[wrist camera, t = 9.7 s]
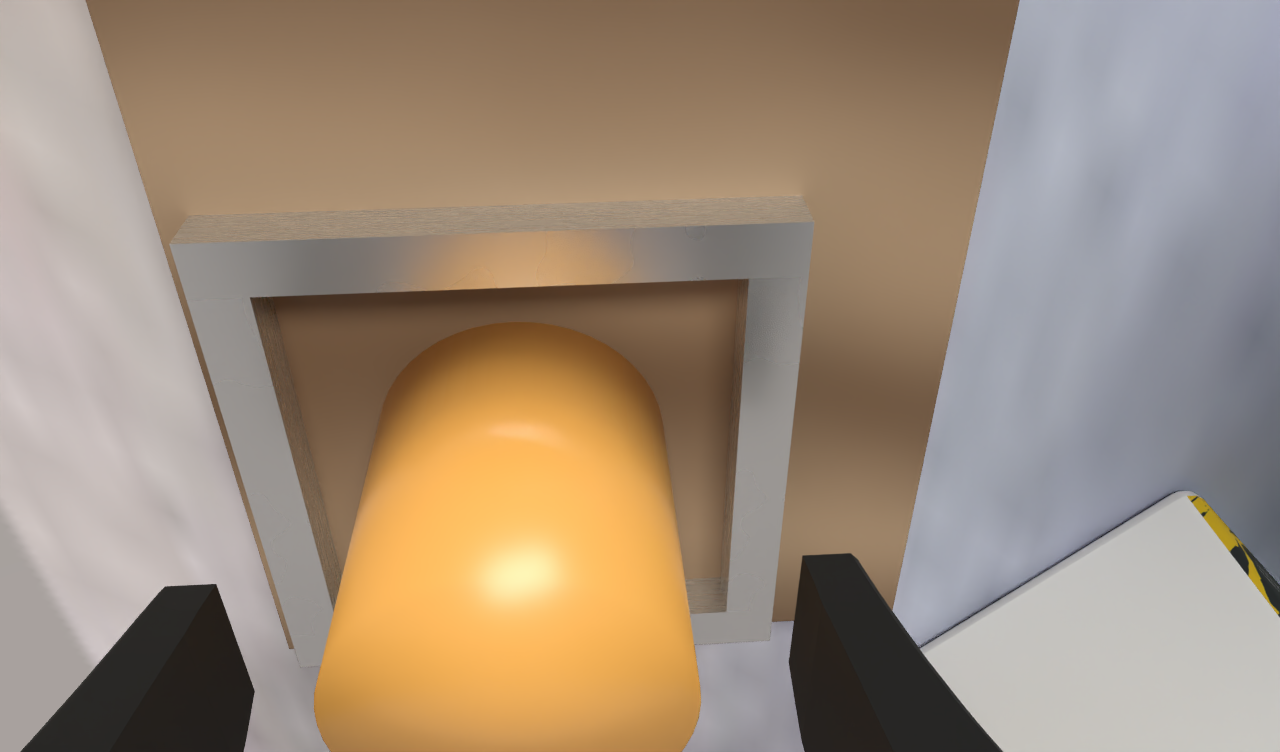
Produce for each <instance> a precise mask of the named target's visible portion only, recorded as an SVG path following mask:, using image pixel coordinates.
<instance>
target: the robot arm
mask: <svg viewBox="0 0 1280 752" xmlns="http://www.w3.org/2000/svg"><path fill="white" fill-rule="evenodd" d="M789 666H790V672H791V679H792V685H793V692H794V698H795V704H796V710H797V716H798V722H799V728H800V733H801V739H802V743H803V747H804V751H805V752H1003V751H1002V750H1001V749H1000V747H999V746H998V745H997V744H996V743H995V742H994V741H993V739H992V738H991V737H990V736H989V735H988V734H987V733H986V731H985V730H984V729H983V728H982V727H981V726H980V724H979V723H978V722H977V721H976V720H975V718H974V717H973V716H972V715H971V714H970V712H969V711H968V710H967V709H966V708H965V706H964V705H963V704H962V703H961V701H960V700H959V699H958V698H957V696H956V695H955V694H954V693H953V691H952V690H951V689H950V688H949V686H948V685H947V684H946V682H945V681H944V680H943V679H942V677H941V676H940V675H939V674H938V672H937V671H936V670H935V668H934V667H933V666H932V665H931V663H930V662H929V661H928V659H927V658H926V657H925V655H924V654H923V653H922V651H921V650H920V649H919V647H918V646H917V645H916V643H915V642H914V641H913V639H912V638H911V637H910V635H909V634H908V632H907V631H906V630H905V628H904V627H903V625H902V624H901V623H900V621H899V620H898V619H897V617H896V616H895V614H894V613H893V611H892V610H891V609H890V607H889V606H888V604H887V603H886V601H885V600H884V598H883V597H882V595H881V594H880V592H879V591H878V589H877V588H876V586H875V585H874V583H873V582H872V580H871V579H870V577H869V576H868V574H867V573H866V571H865V570H864V568H863V567H862V565H861V563H860V562H859V560H858V559H857V558H856V557H855V556H853V555H852V554H851V553H843V554H822V555H802V563H801V571H800V579H799V587H798V594H797V602H796V610H795V618H794V626H793V634H792V642H791V649H790V657H789ZM254 692H255V691H254V688H253V685H252V682H251V680H250V677H249V674H248V671H247V668H246V666H245V663H244V660H243V657H242V655H241V652H240V649H239V646H238V644H237V641H236V638H235V635H234V632H233V630H232V627H231V624H230V621H229V619H228V616H227V613H226V610H225V607H224V605H223V602H222V599H221V596H220V594H219V591H218V588H217V585H216V584H208V585H187V586H167V587H164V588H163V589H162V590H161V591H160V592H159V593H158V595H157V596H156V597H155V598H154V599H153V600H152V601H151V603H150V604H149V605H148V606H147V607H146V608H145V610H144V611H143V612H142V613H141V614H140V615H139V617H138V618H137V619H136V620H135V621H134V622H133V624H132V625H131V626H130V627H129V628H128V630H127V631H126V632H125V633H124V634H123V635H122V637H121V638H120V639H119V640H118V641H117V643H116V644H115V645H114V646H113V647H112V648H111V650H110V651H109V652H108V653H107V654H106V655H105V657H104V658H103V659H102V660H101V661H100V662H99V664H98V665H97V666H96V667H95V668H94V669H93V671H92V672H91V673H90V674H89V675H88V676H87V678H86V679H85V680H84V681H83V682H82V683H81V685H80V686H79V687H78V688H77V689H76V690H75V691H74V693H73V694H72V695H71V696H70V697H69V698H68V699H67V700H66V702H65V703H64V704H63V705H62V706H61V707H60V708H59V709H58V710H57V712H56V713H55V714H54V715H53V716H52V717H51V718H50V719H49V721H48V722H47V723H46V724H45V725H44V726H43V727H42V729H41V730H40V731H39V732H38V733H37V734H36V735H35V736H34V737H33V739H32V740H31V741H30V742H29V743H28V744H27V745H26V746H25V747H24V748H23V749H22V751H21V752H244V747H245V742H246V737H247V731H248V726H249V720H250V714H251V709H252V703H253V698H254Z"/></svg>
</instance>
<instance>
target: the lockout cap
mask: <svg viewBox="0 0 1280 752" xmlns="http://www.w3.org/2000/svg"><path fill="white" fill-rule="evenodd" d="M700 706H701V693H700V682H699V675H698V668H697V661H696V654H695V647H694V640H693V633H692V626H691V618H690V611H689V604H688V597H687V590H686V583H685V576H684V569H683V562H682V555H681V548H680V541H679V534H678V527H677V519H676V512H675V505H674V498H673V491H672V484H671V477H670V470H669V463H668V456H667V449H666V442H665V435H664V428H663V421H662V416H661V412H660V408H659V405H658V403H657V400H656V398H655V395H654V393H653V391H652V390H651V388H650V386H649V385H648V383H647V382H646V380H645V378H644V377H643V376H642V375H641V374H640V373H639V371H638V370H637V369H636V368H635V367H634V366H633V365H632V364H631V363H630V362H629V361H628V360H627V359H625V358H624V357H623V356H622V355H621V354H619V353H618V352H617V351H615V350H614V349H612V348H611V347H609V346H608V345H606V344H604V343H602V342H600V341H598V340H596V339H594V338H592V337H591V336H588V335H585V334H583V333H580V332H577V331H575V330H572V329H568V328H564V327H560V326H556V325H551V324H543V323H535V322H505V323H495V324H489V325H484V326H479V327H474V328H471V329H468V330H465V331H462V332H459V333H456V334H453V335H451V336H449V337H447V338H445V339H443V340H441V341H439V342H437V343H435V344H434V345H432V346H430V347H429V348H427V349H426V350H424V351H423V352H421V353H420V354H419V355H418V356H417V357H416V358H414V359H413V360H412V361H411V362H410V363H409V364H408V365H407V366H406V367H405V368H404V369H403V371H402V372H401V373H400V374H399V375H398V376H397V378H396V380H395V381H394V383H393V384H392V386H391V387H390V389H389V391H388V394H387V396H386V398H385V401H384V403H383V407H382V411H381V415H380V419H379V424H378V428H377V432H376V436H375V440H374V445H373V449H372V453H371V457H370V461H369V466H368V470H367V474H366V478H365V482H364V487H363V491H362V495H361V499H360V503H359V508H358V512H357V516H356V520H355V524H354V529H353V533H352V537H351V541H350V545H349V550H348V554H347V558H346V562H345V566H344V571H343V575H342V579H341V583H340V587H339V592H338V596H337V600H336V604H335V608H334V612H333V617H332V621H331V625H330V629H329V633H328V638H327V642H326V646H325V650H324V654H323V659H322V663H321V667H320V671H319V675H318V680H317V684H316V688H315V692H314V712H315V717H316V722H317V726H318V729H319V731H320V733H321V736H322V738H323V741H324V742H325V744H326V745H327V747H328V748H329V750H330V751H331V752H681V751H682V750H683V749H684V748H685V746H686V744H687V743H688V741H689V739H690V738H691V736H692V734H693V732H694V729H695V727H696V724H697V721H698V718H699V712H700Z"/></svg>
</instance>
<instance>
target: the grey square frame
mask: <svg viewBox="0 0 1280 752" xmlns="http://www.w3.org/2000/svg"><path fill="white" fill-rule="evenodd" d="M813 231H814V220H813V218H812V216H811V213H810V211H809V209H808V207H807V205H806V203H805V201H804V198H803V196H802V195H795V196H765V197H735V198H705V199H675V200H644V201H614V202H584V203H554V204H524V205H494V206H464V207H434V208H404V209H374V210H344V211H314V212H283V213H253V214H223V215H193V216H188V217H187V219H186V220H185V222H184V223H183V225H182V226H181V228H180V229H179V231H178V232H177V234H176V235H175V237H174V238H173V239H172V241H171V242H170V244H169V245H170V248H171V252H172V255H173V258H174V261H175V264H176V268H177V271H178V274H179V277H180V281H181V284H182V287H183V290H184V294H185V297H186V300H187V303H188V306H189V310H190V313H191V316H192V319H193V323H194V326H195V329H196V332H197V336H198V339H199V342H200V345H201V348H202V352H203V355H204V358H205V361H206V365H207V368H208V371H209V374H210V378H211V381H212V384H213V387H214V390H215V394H216V397H217V400H218V403H219V407H220V410H221V413H222V416H223V420H224V423H225V426H226V429H227V432H228V436H229V439H230V442H231V445H232V449H233V452H234V455H235V458H236V462H237V465H238V468H239V471H240V474H241V478H242V481H243V484H244V487H245V491H246V494H247V497H248V500H249V504H250V507H251V510H252V513H253V516H254V520H255V523H256V526H257V529H258V533H259V536H260V539H261V542H262V546H263V549H264V552H265V555H266V558H267V562H268V565H269V568H270V571H271V575H272V578H273V581H274V584H275V588H276V591H277V594H278V597H279V600H280V604H281V607H282V610H283V613H284V617H285V620H286V623H287V626H288V630H289V633H290V636H291V639H292V642H293V646H294V649H295V652H296V655H297V659H298V662H299V665H300V667H317V666H321V663H322V659H323V654H324V650H325V646H326V642H327V638H328V633H329V629H330V625H331V621H332V617H333V612H334V608H335V604H336V600H337V596H338V592H339V587H340V583H341V579H342V573H341V569H340V565H339V561H338V557H337V553H336V549H335V545H334V541H333V537H332V533H331V530H330V526H329V522H328V518H327V514H326V510H325V506H324V502H323V498H322V494H321V490H320V486H319V482H318V478H317V474H316V470H315V466H314V462H313V458H312V454H311V450H310V446H309V442H308V438H307V434H306V430H305V426H304V422H303V418H302V414H301V410H300V406H299V402H298V398H297V394H296V390H295V386H294V382H293V378H292V374H291V370H290V367H289V363H288V359H287V355H286V351H285V347H284V343H283V339H282V335H281V331H280V327H279V323H278V319H277V315H276V311H275V307H274V303H273V299H272V297H274V296H301V295H327V294H354V293H380V292H407V291H434V290H460V289H487V288H513V287H540V286H566V285H593V284H620V283H646V282H673V281H699V280H726V279H738V291H737V307H736V324H735V340H734V357H733V374H732V390H731V407H730V423H729V440H728V456H727V473H726V489H725V506H724V522H723V539H722V555H721V572H720V577H716V578H698V579H685V583H686V590H687V597H688V604H689V611H690V618H691V626H692V633H693V640H694V645H702V644H719V643H737V642H754V641H770V633H771V624H772V614H773V605H774V596H775V586H776V577H777V568H778V558H779V549H780V539H781V530H782V521H783V511H784V502H785V493H786V483H787V474H788V465H789V455H790V446H791V437H792V427H793V418H794V409H795V399H796V390H797V381H798V371H799V362H800V353H801V343H802V334H803V324H804V315H805V306H806V296H807V287H808V278H809V268H810V259H811V250H812V240H813Z"/></svg>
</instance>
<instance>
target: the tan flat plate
mask: <svg viewBox="0 0 1280 752" xmlns="http://www.w3.org/2000/svg"><path fill="white" fill-rule="evenodd" d="M86 3H87V6H88V9H89V12H90V16H91V19H92V22H93V25H94V28H95V31H96V35H97V38H98V41H99V44H100V47H101V51H102V54H103V57H104V60H105V63H106V66H107V70H108V73H109V76H110V79H111V82H112V86H113V89H114V92H115V95H116V98H117V101H118V105H119V108H120V111H121V114H122V117H123V121H124V124H125V127H126V130H127V133H128V137H129V140H130V143H131V146H132V149H133V152H134V156H135V159H136V162H137V165H138V168H139V172H140V175H141V178H142V181H143V184H144V187H145V191H146V194H147V197H148V200H149V203H150V207H151V210H152V213H153V216H154V219H155V223H156V226H157V229H158V232H159V235H160V238H161V242H162V245H163V248H164V251H165V254H166V258H167V261H168V264H169V267H170V270H171V273H172V277H173V280H174V283H175V286H176V289H177V293H178V296H179V299H180V302H181V305H182V308H183V312H184V315H185V318H186V321H187V324H188V328H189V331H190V334H191V337H192V340H193V344H194V347H195V350H196V353H197V356H198V359H199V363H200V366H201V369H202V372H203V375H204V379H205V382H206V385H207V388H208V391H209V394H210V398H211V401H212V404H213V407H214V410H215V414H216V417H217V420H218V423H219V426H220V430H221V433H222V436H223V439H224V442H225V445H226V449H227V452H228V455H229V458H230V461H231V465H232V468H233V471H234V474H235V477H236V480H237V484H238V487H239V490H240V493H241V496H242V500H243V503H244V506H245V509H246V512H247V515H248V519H249V522H250V525H251V528H252V531H253V535H254V538H255V541H256V544H257V547H258V551H259V554H260V557H261V560H262V563H263V566H264V570H265V573H266V576H267V579H268V582H269V586H270V589H271V592H272V595H273V598H274V601H275V605H276V608H277V611H278V614H279V617H280V621H281V624H282V627H283V630H284V633H285V637H286V640H287V643H288V646H289V649H294V646H293V642H292V639H291V636H290V633H289V630H288V626H287V623H286V620H285V617H284V613H283V610H282V607H281V604H280V600H279V597H278V594H277V591H276V588H275V584H274V581H273V578H272V575H271V571H270V568H269V565H268V562H267V558H266V555H265V552H264V549H263V546H262V542H261V539H260V536H259V533H258V529H257V526H256V523H255V520H254V516H253V513H252V510H251V507H250V504H249V500H248V497H247V494H246V491H245V487H244V484H243V481H242V478H241V474H240V471H239V468H238V465H237V462H236V458H235V455H234V452H233V449H232V445H231V442H230V439H229V436H228V432H227V429H226V426H225V423H224V420H223V416H222V413H221V410H220V407H219V403H218V400H217V397H216V394H215V390H214V387H213V384H212V381H211V378H210V374H209V371H208V368H207V365H206V361H205V358H204V355H203V352H202V348H201V345H200V342H199V339H198V336H197V332H196V329H195V326H194V323H193V319H192V316H191V313H190V310H189V306H188V303H187V300H186V297H185V294H184V290H183V287H182V284H181V281H180V277H179V274H178V271H177V268H176V264H175V261H174V258H173V255H172V252H171V248H170V245H169V244H170V242H171V241H172V239H173V238H174V237H175V235H176V234H177V232H178V231H179V229H180V228H181V226H182V225H183V223H184V222H185V220H186V219H187V217H188V216H193V215H223V214H253V213H283V212H314V211H344V210H374V209H404V208H434V207H464V206H494V205H524V204H554V203H584V202H614V201H644V200H675V199H705V198H735V197H765V196H795V195H802V196H803V198H804V201H805V203H806V205H807V207H808V209H809V211H810V213H811V216H812V218H813V220H814V231H813V240H812V250H811V259H810V268H809V278H808V287H807V296H806V306H805V315H804V324H803V334H802V343H801V353H800V362H799V371H798V381H797V390H796V399H795V409H794V418H793V427H792V437H791V446H790V455H789V465H788V474H787V483H786V493H785V502H784V511H783V521H782V530H781V539H780V549H779V558H778V568H777V577H776V586H775V596H774V605H773V614H772V622H777V621H794V618H795V610H796V602H797V594H798V587H799V579H800V571H801V563H802V555H822V554H843V553H851V554H852V555H853V556H855V557H856V558H857V559H858V560H859V562H860V563H861V565H862V567H863V568H864V570H865V571H866V573H867V574H868V576H869V577H870V579H871V580H872V582H873V583H874V585H875V586H876V588H877V589H878V591H879V592H880V594H881V595H882V597H883V598H884V600H885V601H886V603H887V604H888V606H889V607H890V609H891V610H893V605H894V600H895V595H896V591H897V586H898V581H899V576H900V571H901V567H902V562H903V557H904V552H905V547H906V543H907V538H908V533H909V528H910V523H911V519H912V514H913V509H914V504H915V499H916V495H917V490H918V485H919V480H920V475H921V471H922V466H923V461H924V456H925V451H926V447H927V442H928V437H929V432H930V427H931V423H932V418H933V413H934V408H935V403H936V399H937V394H938V389H939V384H940V379H941V375H942V370H943V365H944V360H945V355H946V351H947V346H948V341H949V336H950V331H951V327H952V322H953V317H954V312H955V307H956V303H957V298H958V293H959V288H960V283H961V279H962V274H963V269H964V264H965V259H966V255H967V250H968V245H969V240H970V236H971V231H972V226H973V221H974V216H975V212H976V207H977V202H978V197H979V192H980V188H981V183H982V178H983V173H984V168H985V164H986V159H987V154H988V149H989V144H990V140H991V135H992V130H993V125H994V120H995V116H996V111H997V106H998V101H999V96H1000V92H1001V87H1002V82H1003V77H1004V72H1005V68H1006V63H1007V58H1008V53H1009V48H1010V44H1011V39H1012V34H1013V29H1014V24H1015V20H1016V15H1017V10H1018V5H1019V0H86ZM737 291H738V279H726V280H699V281H673V282H646V283H620V284H593V285H566V286H540V287H513V288H487V289H460V290H434V291H407V292H380V293H354V294H327V295H301V296H274V297H272V299H273V303H274V307H275V311H276V315H277V319H278V323H279V327H280V331H281V335H282V339H283V343H284V347H285V351H286V355H287V359H288V363H289V367H290V370H291V374H292V378H293V382H294V386H295V390H296V394H297V398H298V402H299V406H300V410H301V414H302V418H303V422H304V426H305V430H306V434H307V438H308V442H309V446H310V450H311V454H312V458H313V462H314V466H315V470H316V474H317V478H318V482H319V486H320V490H321V494H322V498H323V502H324V506H325V510H326V514H327V518H328V522H329V526H330V530H331V533H332V537H333V541H334V545H335V549H336V553H337V557H338V561H339V565H340V569H341V573H342V575H343V571H344V566H345V562H346V558H347V554H348V550H349V545H350V541H351V537H352V533H353V529H354V524H355V520H356V516H357V512H358V508H359V503H360V499H361V495H362V491H363V487H364V482H365V478H366V474H367V470H368V466H369V461H370V457H371V453H372V449H373V445H374V440H375V436H376V432H377V428H378V424H379V419H380V415H381V411H382V407H383V403H384V401H385V398H386V396H387V394H388V391H389V389H390V387H391V386H392V384H393V383H394V381H395V380H396V378H397V376H398V375H399V374H400V373H401V372H402V371H403V369H404V368H405V367H406V366H407V365H408V364H409V363H410V362H411V361H412V360H413V359H414V358H416V357H417V356H418V355H419V354H420V353H421V352H423V351H424V350H426V349H427V348H429V347H430V346H432V345H434V344H435V343H437V342H439V341H441V340H443V339H445V338H447V337H449V336H451V335H453V334H456V333H459V332H462V331H465V330H468V329H471V328H474V327H479V326H484V325H489V324H495V323H505V322H535V323H543V324H551V325H556V326H560V327H564V328H568V329H572V330H575V331H577V332H580V333H583V334H585V335H588V336H591V337H592V338H594V339H596V340H598V341H600V342H602V343H604V344H606V345H608V346H609V347H611V348H612V349H614V350H615V351H617V352H618V353H619V354H621V355H622V356H623V357H624V358H625V359H627V360H628V361H629V362H630V363H631V364H632V365H633V366H634V367H635V368H636V369H637V370H638V371H639V373H640V374H641V375H642V376H643V377H644V378H645V380H646V382H647V383H648V385H649V386H650V388H651V390H652V391H653V393H654V395H655V398H656V400H657V403H658V405H659V408H660V412H661V416H662V421H663V428H664V435H665V442H666V449H667V456H668V463H669V470H670V477H671V484H672V491H673V498H674V505H675V512H676V519H677V527H678V534H679V541H680V548H681V555H682V562H683V569H684V576H685V579H698V578H716V577H720V572H721V555H722V539H723V522H724V506H725V489H726V473H727V456H728V440H729V423H730V407H731V390H732V374H733V357H734V340H735V324H736V307H737Z"/></svg>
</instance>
